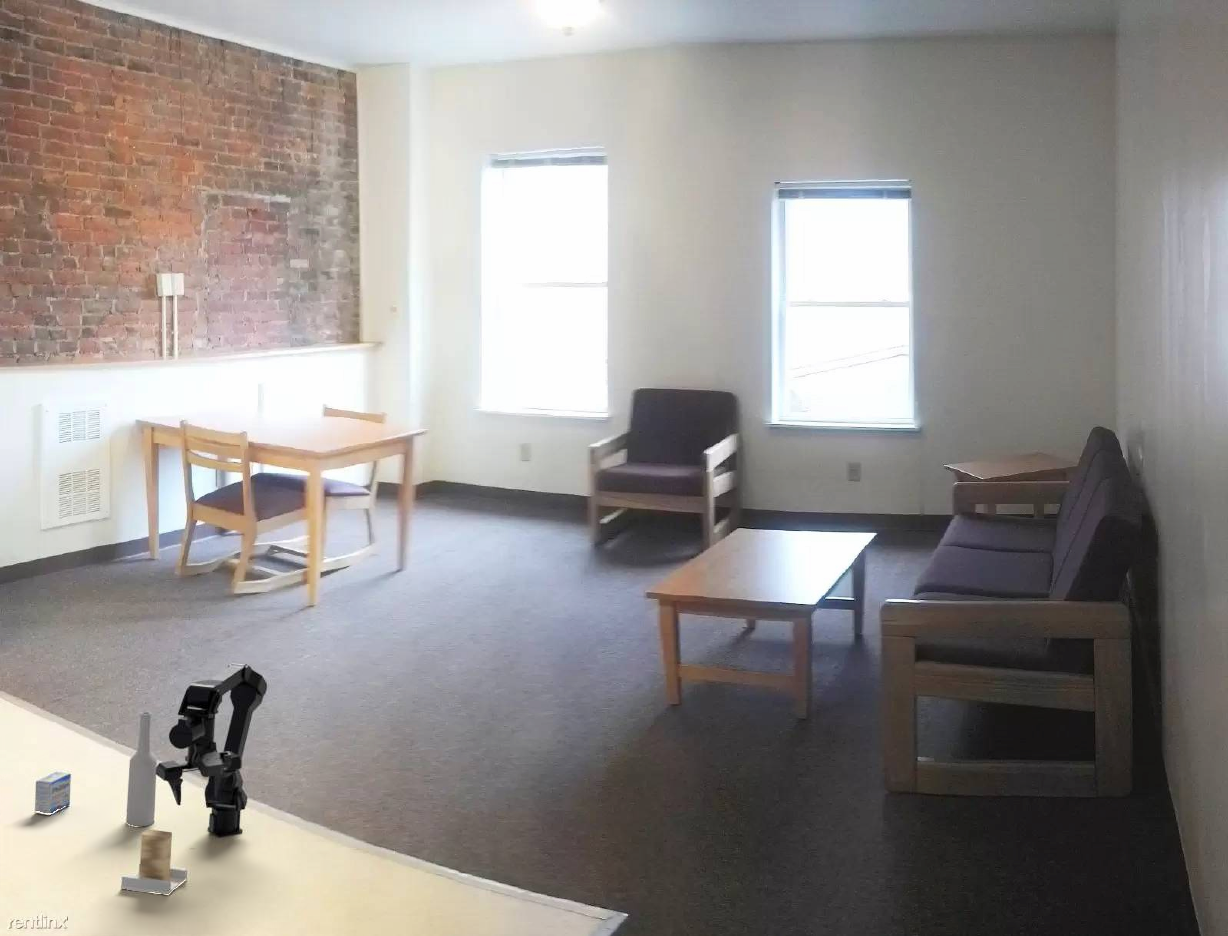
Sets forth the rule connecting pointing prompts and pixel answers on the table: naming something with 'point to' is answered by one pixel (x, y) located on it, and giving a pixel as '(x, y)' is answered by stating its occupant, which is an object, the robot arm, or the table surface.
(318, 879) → the table surface
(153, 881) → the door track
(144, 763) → the bottle
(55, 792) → the medicine box
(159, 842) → the wooden block
